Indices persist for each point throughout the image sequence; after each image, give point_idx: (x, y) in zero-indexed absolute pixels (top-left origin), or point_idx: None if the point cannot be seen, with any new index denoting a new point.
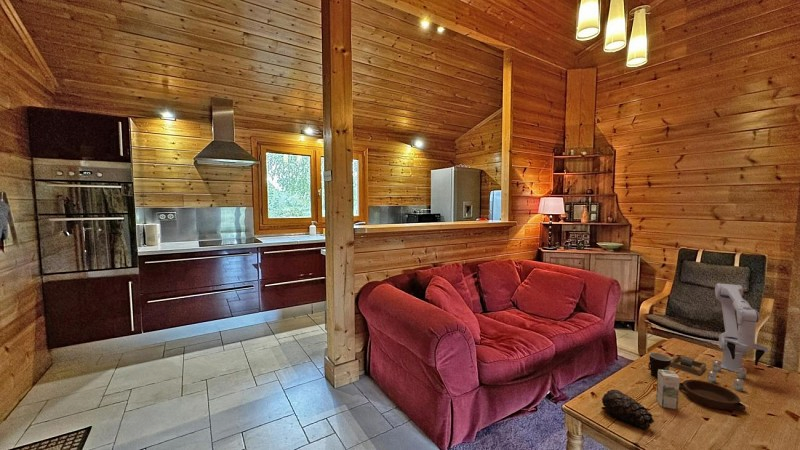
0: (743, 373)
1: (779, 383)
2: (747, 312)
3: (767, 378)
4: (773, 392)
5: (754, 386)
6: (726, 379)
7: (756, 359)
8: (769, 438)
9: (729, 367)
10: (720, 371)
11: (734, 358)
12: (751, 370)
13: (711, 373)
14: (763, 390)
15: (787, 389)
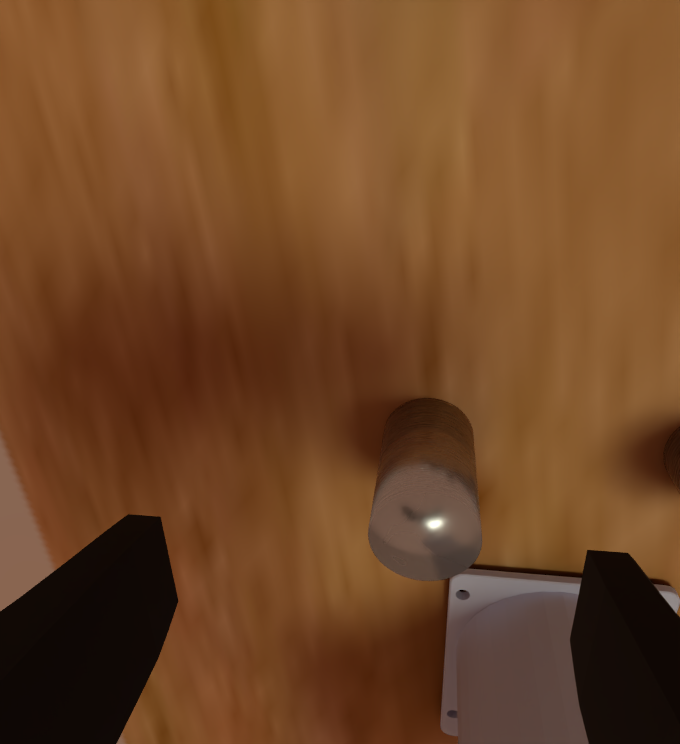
0: (403, 455)
1: None
2: None
3: (243, 618)
4: (94, 275)
5: (273, 284)
6: (591, 221)
7: (14, 643)
8: None
9: (574, 611)
10: (671, 446)
11: (574, 619)
12: (382, 707)
13: None
14: (174, 237)
15: (59, 483)
